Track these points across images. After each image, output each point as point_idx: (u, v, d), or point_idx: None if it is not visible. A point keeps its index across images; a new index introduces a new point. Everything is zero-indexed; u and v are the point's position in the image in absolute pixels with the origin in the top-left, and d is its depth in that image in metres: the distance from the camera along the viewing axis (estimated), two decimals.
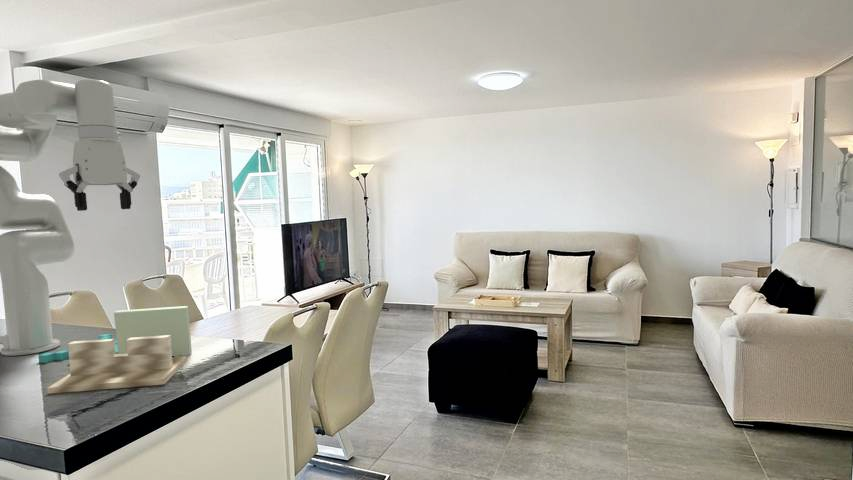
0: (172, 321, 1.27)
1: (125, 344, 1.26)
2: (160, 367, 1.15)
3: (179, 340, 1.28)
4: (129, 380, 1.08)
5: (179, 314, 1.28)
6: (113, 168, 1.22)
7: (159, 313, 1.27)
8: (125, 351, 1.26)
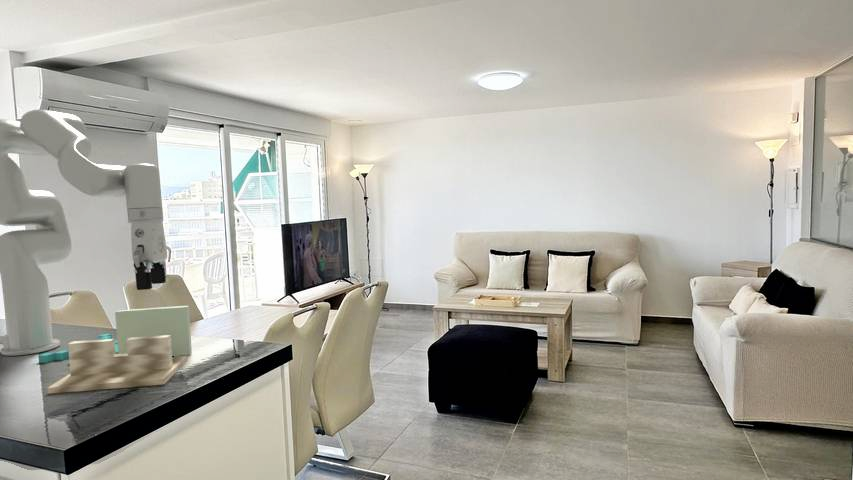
0: (173, 320, 1.28)
1: (125, 344, 1.26)
2: (160, 367, 1.15)
3: (179, 340, 1.29)
4: (129, 380, 1.08)
5: (180, 313, 1.28)
6: None
7: (160, 312, 1.27)
8: (125, 350, 1.26)
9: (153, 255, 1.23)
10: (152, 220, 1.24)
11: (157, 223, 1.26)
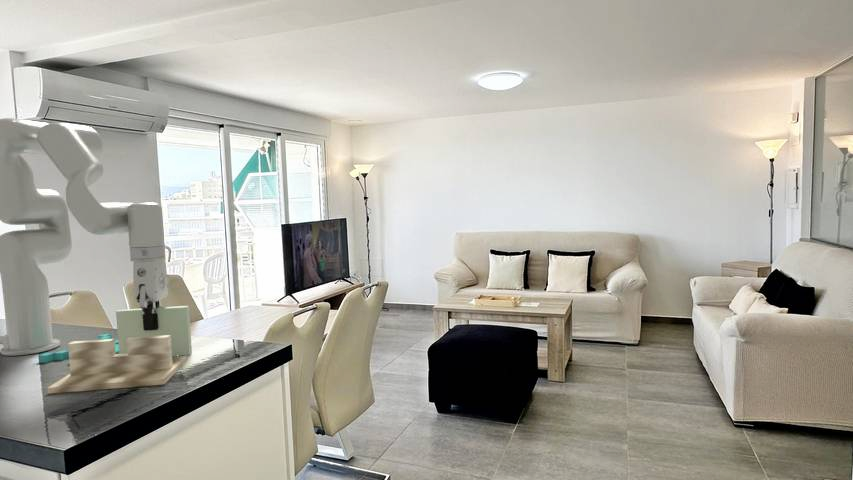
0: (172, 320, 1.28)
1: (126, 343, 1.27)
2: (160, 367, 1.15)
3: (179, 340, 1.29)
4: (129, 380, 1.08)
5: (180, 313, 1.28)
6: None
7: (160, 312, 1.27)
8: (126, 350, 1.27)
9: (154, 294, 1.23)
10: (154, 259, 1.24)
11: (159, 261, 1.27)
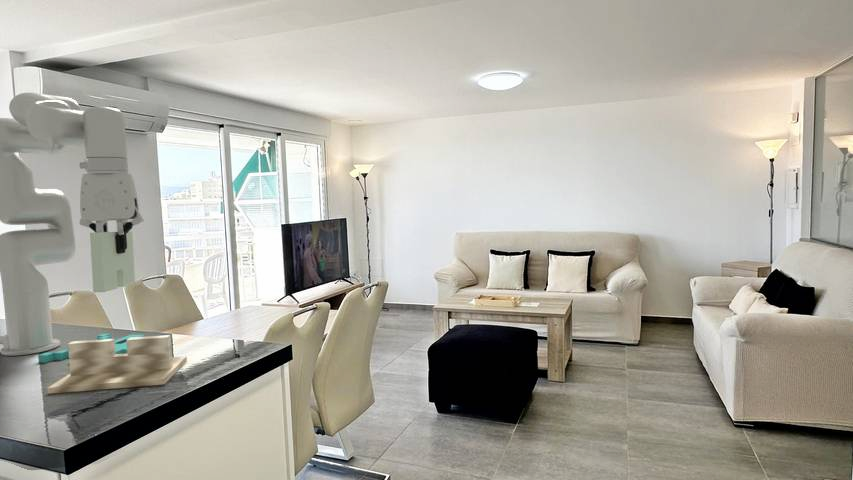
0: None
1: None
2: (160, 367, 1.15)
3: None
4: (129, 380, 1.08)
5: None
6: None
7: None
8: None
9: (81, 212, 1.09)
10: (88, 172, 1.09)
11: (99, 175, 1.09)
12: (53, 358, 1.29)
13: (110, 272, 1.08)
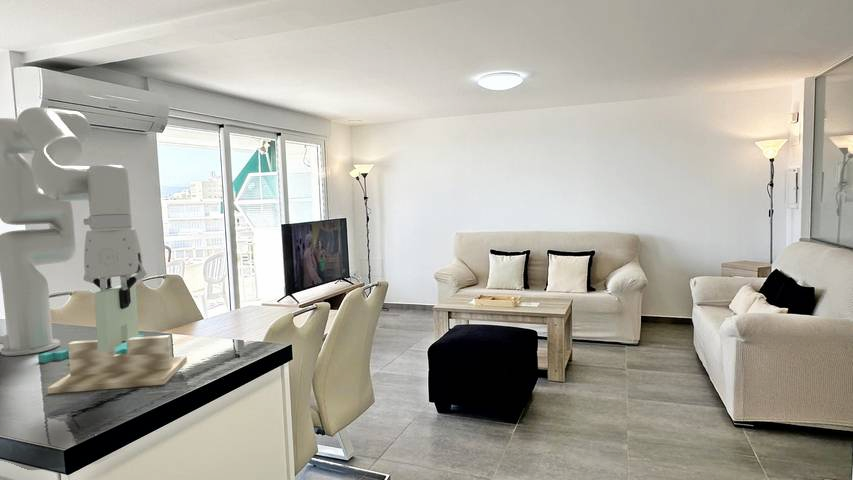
0: None
1: None
2: (160, 367, 1.15)
3: None
4: (129, 380, 1.08)
5: None
6: None
7: None
8: None
9: (85, 269, 1.10)
10: (92, 229, 1.09)
11: (103, 232, 1.10)
12: (53, 358, 1.29)
13: (114, 329, 1.09)
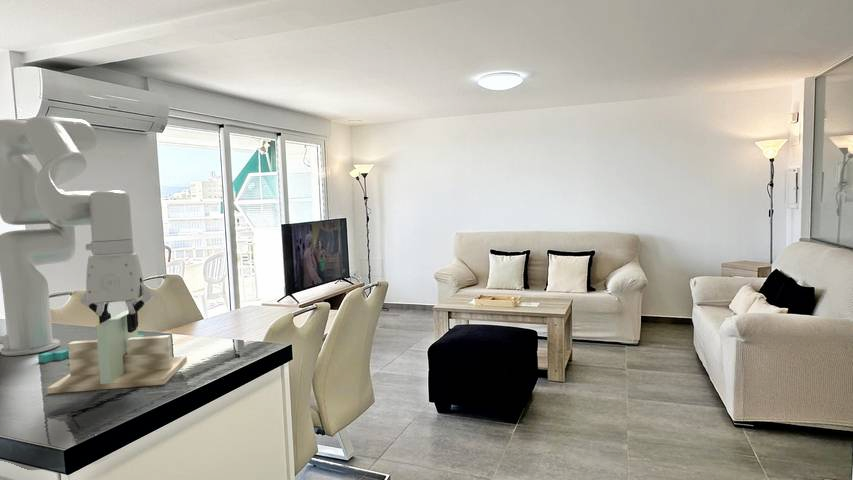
0: None
1: None
2: (160, 367, 1.15)
3: None
4: (129, 380, 1.08)
5: None
6: None
7: None
8: None
9: (87, 294, 1.10)
10: (94, 255, 1.10)
11: (105, 258, 1.10)
12: (53, 358, 1.29)
13: (116, 360, 1.10)
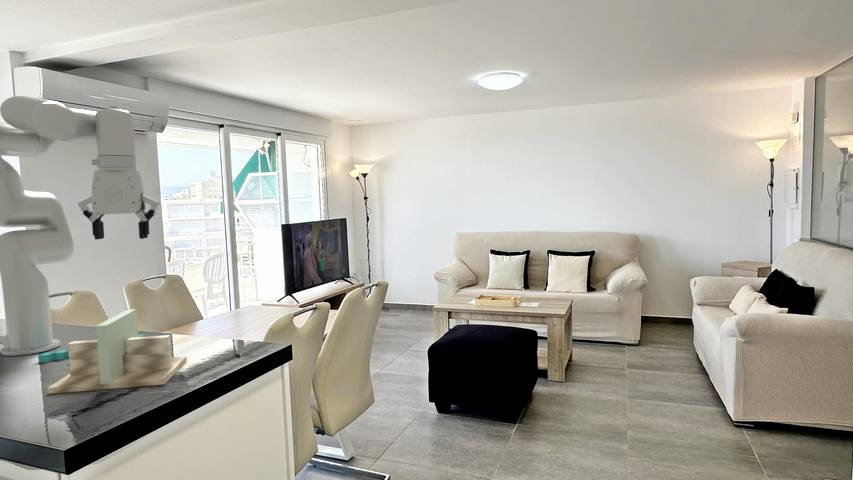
0: None
1: None
2: (160, 367, 1.15)
3: None
4: (129, 380, 1.08)
5: None
6: None
7: None
8: None
9: (92, 205, 1.18)
10: (99, 169, 1.18)
11: (109, 172, 1.18)
12: (53, 358, 1.29)
13: (116, 360, 1.10)
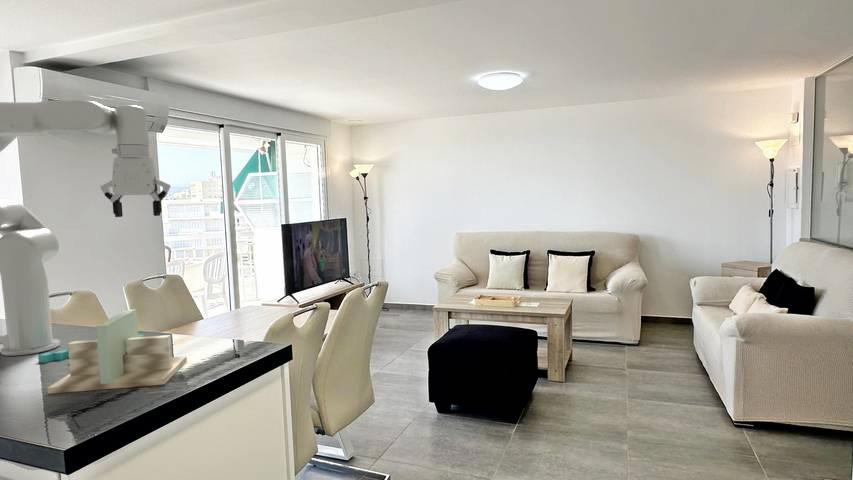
0: None
1: None
2: (160, 367, 1.15)
3: None
4: (129, 380, 1.08)
5: None
6: None
7: None
8: None
9: (113, 187, 1.39)
10: (118, 156, 1.39)
11: (127, 159, 1.39)
12: (53, 358, 1.29)
13: (116, 360, 1.10)
